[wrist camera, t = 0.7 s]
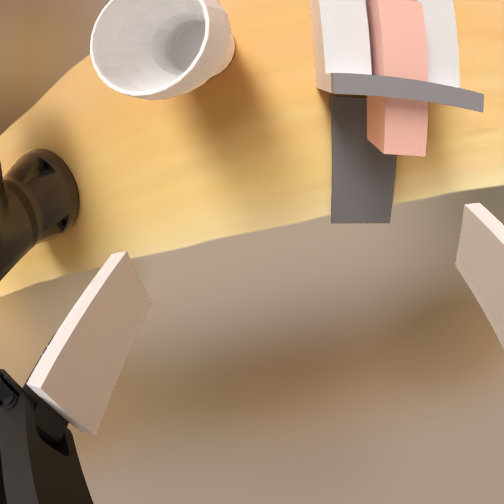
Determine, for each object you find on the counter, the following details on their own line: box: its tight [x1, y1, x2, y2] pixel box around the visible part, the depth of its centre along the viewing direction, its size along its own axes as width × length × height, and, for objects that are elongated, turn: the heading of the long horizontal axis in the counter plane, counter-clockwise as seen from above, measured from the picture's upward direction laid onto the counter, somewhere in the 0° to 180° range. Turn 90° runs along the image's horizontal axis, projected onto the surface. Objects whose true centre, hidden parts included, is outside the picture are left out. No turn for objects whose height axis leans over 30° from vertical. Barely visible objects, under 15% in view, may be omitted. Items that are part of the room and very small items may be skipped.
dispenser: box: [309, 0, 484, 112], centre depth 20 cm, size 13×12×13 cm
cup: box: [90, 0, 235, 100], centre depth 22 cm, size 11×11×15 cm
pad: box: [330, 97, 396, 223], centre depth 33 cm, size 8×16×1 cm, turn 5°
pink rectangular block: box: [366, 0, 428, 157], centre depth 21 cm, size 4×14×6 cm, turn 5°
